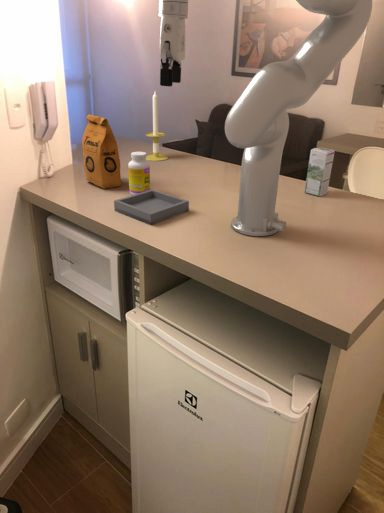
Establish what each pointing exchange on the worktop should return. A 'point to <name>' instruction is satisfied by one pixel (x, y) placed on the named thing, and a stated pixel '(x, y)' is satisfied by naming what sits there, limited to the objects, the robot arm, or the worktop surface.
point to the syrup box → (319, 171)
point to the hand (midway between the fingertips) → (170, 84)
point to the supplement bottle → (139, 173)
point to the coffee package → (101, 153)
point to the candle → (155, 134)
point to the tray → (151, 206)
